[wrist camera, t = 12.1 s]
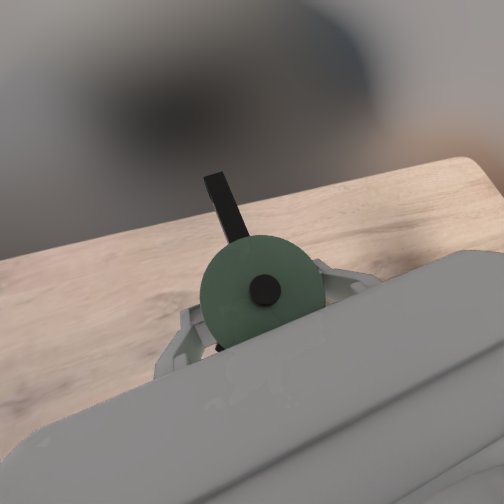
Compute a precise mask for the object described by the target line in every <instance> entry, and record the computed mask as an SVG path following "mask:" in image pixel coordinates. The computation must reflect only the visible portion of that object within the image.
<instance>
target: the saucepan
mask: <svg viewBox="0 0 504 504" xmlns="http://www.w3.org/2000/svg"><path fill="white" fill-rule="evenodd" d="M204 182H205V185H206V188H207V191H208V193H209V196H210V198H211V201H212V203H213V206H214V209H215V211H216V214H217V216H218V219H219V222H220V224H221V227H222V229H223V232H224V235H225V237H226V240H227V242H228V245H227V246H226V247H224V248H223V249H222V250H221V251H220V252H219V253H217V254H216V256H215V257H214V258H213V259H212V260H211V262H210V264H209V265H208V267H207V269H206V271H205V273H204V276H203V279H202V282H201V287H200V308H201V312H202V316H203V319H204V322H205V324H206V326H207V328H208V330H209V332H210V333H211V335H212V336H213V337H214V339H215V340H216V341H217V342H218V343H219V344H220V345H221V346H222V347H223V348H225V349H228V348H230V347H233V346H235V345H237V344H240V343H242V342H244V341H247V340H249V339H251V338H254V337H256V336H259V335H261V334H263V333H266V332H268V331H270V330H273V329H275V328H277V327H280V326H282V325H284V324H287V323H289V322H292V321H294V320H296V319H299V318H301V317H303V316H306V315H308V314H310V313H313V312H315V311H317V310H320V309H322V308H324V307H325V303H326V296H325V288H324V284H323V280H322V278H321V275H320V273H319V271H318V269H317V267H316V265H315V264H314V263H313V261H312V260H311V259H310V257H309V256H308V255H307V254H306V253H305V252H304V251H302V250H301V249H300V248H299V247H297V246H296V245H294V244H293V243H291V242H289V241H287V240H284V239H281V238H278V237H274V236H267V235H255V236H250V235H249V233H248V230H247V228H246V226H245V223H244V221H243V219H242V216H241V214H240V212H239V209H238V207H237V204H236V202H235V200H234V198H233V195H232V193H231V190H230V188H229V186H228V183H227V181H226V179H225V176H224V174H223V172H219V173H215V174H212V175H209V176H205V177H204Z"/></svg>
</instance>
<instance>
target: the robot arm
mask: <svg viewBox="0 0 504 504" xmlns="http://www.w3.org/2000/svg"><path fill="white" fill-rule="evenodd" d="M312 261H313V263H314V264H315V265H316V267H317V269H318V271H319V273H320V275H321V278H322V280H323V284H324V288H325V296H326V299H328V300H331V301H334V302H336V303H334V304H332V305H329V306H327V307H324V308H322V309H320V310H317V311H315V312H313V313H310V314H308V315H306V316H303V317H301V318H299V319H296V320H294V321H292V322H289V323H287V324H284V325H282V326H280V327H277V328H275V329H273V330H270V331H268V332H266V333H263V334H261V335H259V336H256V337H254V338H251V339H249V340H247V341H244V342H242V343H240V344H237V345H235V346H233V347H230V348H228V349H226V350H223V351H221V352H218V353H216V354H214V355H211V356H209V357H207V358H204V359H202V360H201V357H202V355H203V352H204V350H205V348H206V347H208V346H211V345H213V344H215V343H217V341H216V340H215V339H214V337H213V336H212V335H211V333H210V332H209V330H208V328H207V326H206V324H205V322H204V319H203V316H202V312H201V308H200V304H198V305H195V306H192V307H190V308H187V309H184V310H182V311H181V312H180V325H181V330H179V331H178V332H177V333H176V335H175V336H174V338H173V339H172V341H171V342H170V343H169V345H168V346H167V348H166V349H165V351H164V352H163V354H162V355H161V357H160V358H159V360H158V361H157V362H156V364H155V372H154V380H153V381H150V382H148V383H145V384H143V385H141V386H138V387H136V388H134V389H131V390H129V391H127V392H124V393H122V394H120V395H117V396H115V397H112V398H110V399H108V400H105V401H103V402H101V403H98V404H96V405H94V406H91V407H89V408H87V409H84V410H82V411H80V412H77V413H75V414H72V415H70V416H68V417H65V418H63V419H61V420H58V421H56V422H53V423H51V424H48V425H46V426H43V427H41V428H39V429H37V430H35V431H34V432H32V433H31V434H29V435H28V436H27V437H26V438H25V439H24V440H23V441H21V442H20V443H19V444H18V445H17V446H16V447H15V448H14V449H13V450H12V451H11V452H10V453H9V454H8V455H7V456H6V457H5V458H4V459H3V460H2V461H1V462H0V504H504V253H500V252H491V251H480V250H460V251H456V252H454V253H452V254H449V255H447V256H444V257H442V258H440V259H437V260H435V261H433V262H430V263H428V264H426V265H423V266H421V267H419V268H416V269H414V270H412V271H409V272H407V273H405V274H402V275H400V276H398V277H395V278H393V279H390V280H388V281H386V282H382V281H381V280H379V279H378V278H376V277H375V276H373V275H370V274H364V273H359V272H353V271H347V270H341V269H332V268H330V267H329V266H328V265H326V264H325V263H324V262H322V261H321V260H320V259H318V258H317V259H314V260H312Z"/></svg>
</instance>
